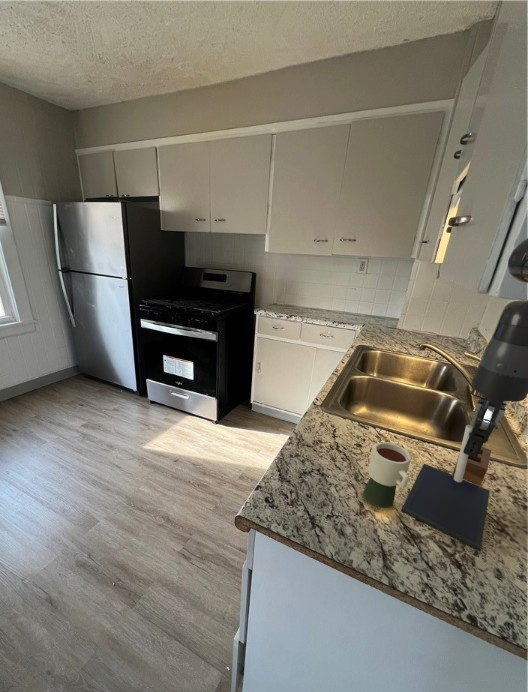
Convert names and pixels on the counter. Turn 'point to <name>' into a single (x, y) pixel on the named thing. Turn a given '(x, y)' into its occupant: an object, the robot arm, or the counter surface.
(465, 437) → the stylus
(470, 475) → the pen stand
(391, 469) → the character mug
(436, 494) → the tablet
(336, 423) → the counter surface
